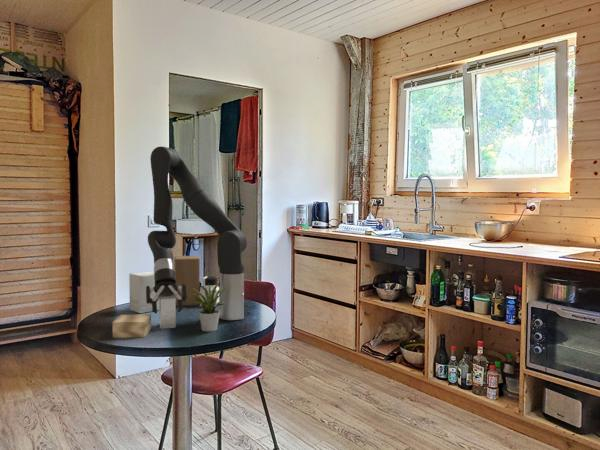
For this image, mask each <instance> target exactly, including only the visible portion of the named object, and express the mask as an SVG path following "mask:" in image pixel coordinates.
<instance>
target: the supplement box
mask: <svg viewBox="0 0 600 450" xmlns="http://www.w3.org/2000/svg"><path fill="white" fill-rule="evenodd" d="M128 275H129V276H128V278H129V279H128V280H129V283H128V284H129V290H128V291H129V311H131V310H132V311H131V312H134V311H135V313H137V312H138V314H145V312H146V313H149V312H151V313H152V312H153V311H152V304H150V303H149V304H147V303H146V286H149V287H154V286H155V281H154V271H148V270H147V271H141V272H140V271H139V272H130V273H129V274H128ZM155 294H156V293H155V292H154V291H152V293H151V294H150V298H152V299H153V298H154V296H155ZM156 303H157V311H159V300H158V301H157V302H156Z"/></svg>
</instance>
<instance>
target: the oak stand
mask: <svg viewBox="0 0 600 450" xmlns="http://www.w3.org/2000/svg"><path fill="white" fill-rule="evenodd" d="M151 329H152V314H150V313H149V314H147V313H146V314H145V313H144V314H120V315H119V316H118V317H117V318H115V320H113V321H112V338H115V339H117V338H118V339H119V338H146V337H147V335H148V334H149V332H150V331H151Z"/></svg>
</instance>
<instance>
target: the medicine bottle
mask: <svg viewBox="0 0 600 450" xmlns="http://www.w3.org/2000/svg"><path fill="white" fill-rule="evenodd" d="M208 284H209V285H208ZM216 284H218V278H217V277H216V276H211V275H207V276H204V277H202V286H203V287H205V288H206V289H207V291H208V293H209V286H210V290H211V293H212V290H213V288H214V286H215V285H216ZM218 287H219V286H217V288H218ZM217 288H216V290H215V291H216V292H215V293H214V294H215V295H214V298H215V297H216V294H217V292H218V290H219V288H218V289H217ZM200 293H201V294H202V295H203V296H204V297H205V298H206V295H205V291H204V290H203V289H202V287H200ZM218 295H219V294H218ZM200 298H201V299H202V297H201V296H200ZM214 298H213V300H214ZM206 300H207V298H206ZM202 301H204V300H203V299H202ZM218 302H219V297H218V299H217V301H216V303H215V304H217V303H218ZM199 306H201V307H202V305H201V304H199ZM215 306H216V305H215ZM215 306H214V307H215Z"/></svg>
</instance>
